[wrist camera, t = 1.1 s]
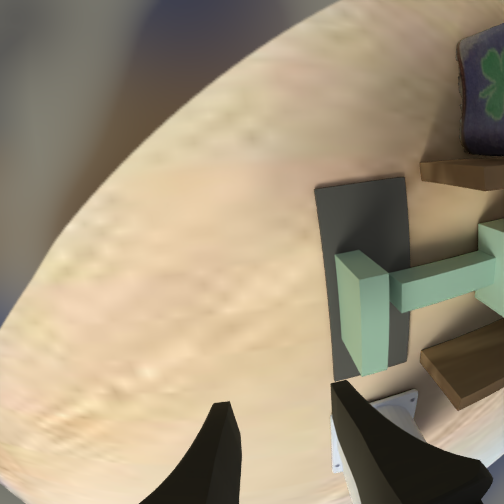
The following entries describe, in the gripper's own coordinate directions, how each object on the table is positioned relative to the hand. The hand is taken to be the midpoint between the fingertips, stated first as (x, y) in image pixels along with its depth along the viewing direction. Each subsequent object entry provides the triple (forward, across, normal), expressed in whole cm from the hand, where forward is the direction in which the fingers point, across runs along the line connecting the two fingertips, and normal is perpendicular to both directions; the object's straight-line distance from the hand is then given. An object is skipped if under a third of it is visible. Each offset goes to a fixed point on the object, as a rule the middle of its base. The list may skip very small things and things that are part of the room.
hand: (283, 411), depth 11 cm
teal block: (+9, -15, 0) cm, 17 cm away
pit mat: (+9, -7, 0) cm, 12 cm away
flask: (+10, -18, -12) cm, 24 cm away
